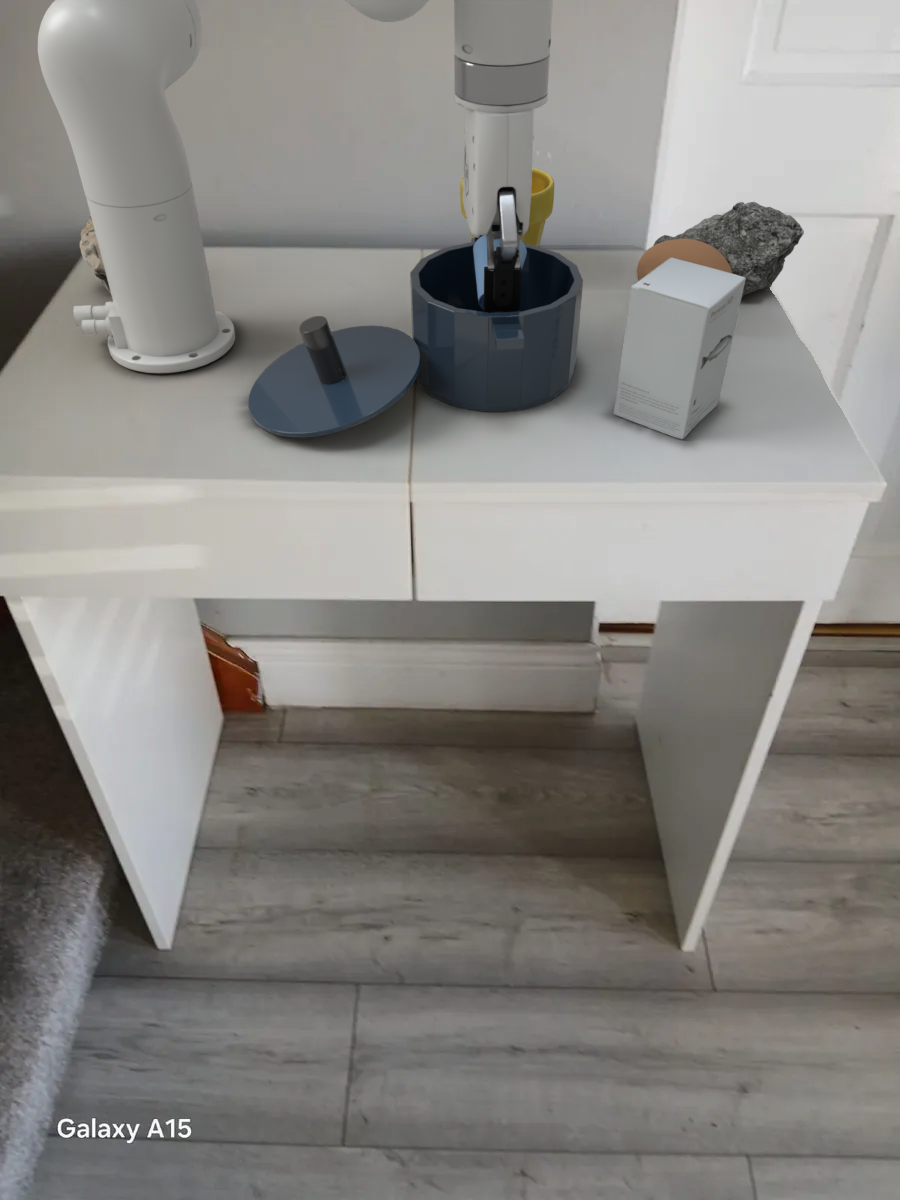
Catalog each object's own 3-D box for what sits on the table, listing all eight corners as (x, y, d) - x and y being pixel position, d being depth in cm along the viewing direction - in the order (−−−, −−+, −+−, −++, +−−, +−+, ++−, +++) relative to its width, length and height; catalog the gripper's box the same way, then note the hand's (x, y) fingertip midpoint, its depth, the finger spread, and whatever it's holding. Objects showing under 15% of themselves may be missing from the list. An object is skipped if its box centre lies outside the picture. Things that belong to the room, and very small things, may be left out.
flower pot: (446, 256, 114) (446, 170, 107) (526, 242, 116) (531, 158, 110) (480, 292, 107) (481, 203, 100) (564, 277, 109) (571, 189, 103)
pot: (420, 432, 86) (417, 335, 80) (408, 322, 102) (405, 233, 95) (592, 423, 87) (603, 327, 81) (554, 315, 103) (561, 227, 96)
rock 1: (137, 242, 113) (64, 210, 105) (181, 224, 109) (109, 189, 101) (140, 315, 113) (67, 289, 104) (184, 299, 109) (112, 271, 100)
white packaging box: (683, 442, 85) (709, 308, 76) (610, 415, 88) (627, 283, 80) (720, 406, 89) (749, 275, 81) (649, 381, 93) (669, 253, 84)
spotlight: (473, 322, 95) (466, 357, 90) (474, 221, 88) (466, 253, 83) (523, 325, 95) (518, 360, 90) (528, 224, 88) (523, 255, 83)
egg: (757, 248, 98) (668, 222, 104) (716, 260, 93) (626, 232, 99) (738, 321, 102) (654, 292, 108) (699, 336, 98) (613, 305, 104)
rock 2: (635, 257, 107) (663, 270, 116) (720, 329, 104) (742, 337, 112) (715, 152, 101) (738, 175, 110) (807, 226, 98) (823, 243, 107)
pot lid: (250, 463, 84) (219, 401, 80) (254, 364, 96) (228, 305, 91) (432, 411, 83) (411, 345, 78) (414, 317, 94) (395, 255, 90)
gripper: (445, 52, 83) (448, 253, 95) (465, 115, 70) (464, 338, 82) (532, 49, 83) (523, 250, 95) (566, 111, 71) (551, 334, 83)
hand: (496, 289), depth 89 cm, fingers closed on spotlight, 7 cm apart
